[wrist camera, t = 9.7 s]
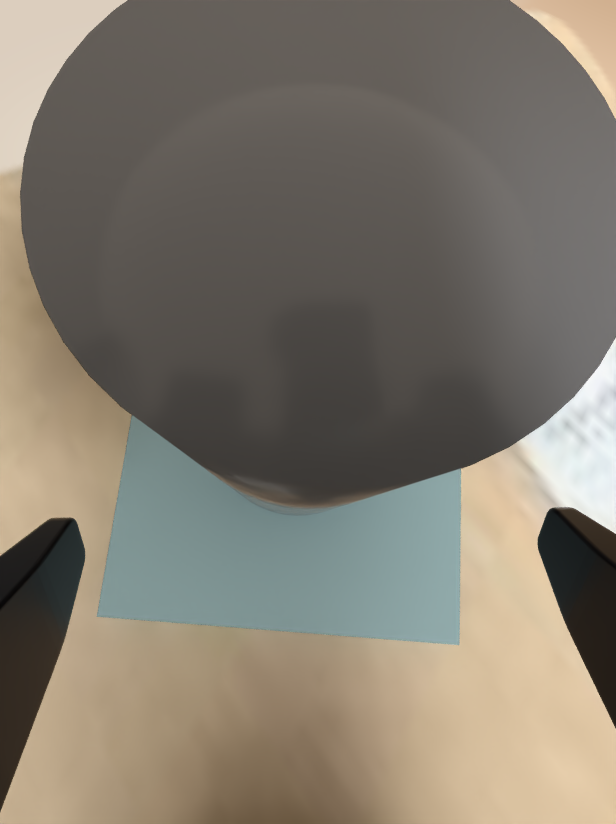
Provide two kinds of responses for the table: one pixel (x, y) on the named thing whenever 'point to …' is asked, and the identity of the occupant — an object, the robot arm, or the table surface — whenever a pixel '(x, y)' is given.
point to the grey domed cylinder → (326, 233)
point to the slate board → (280, 555)
